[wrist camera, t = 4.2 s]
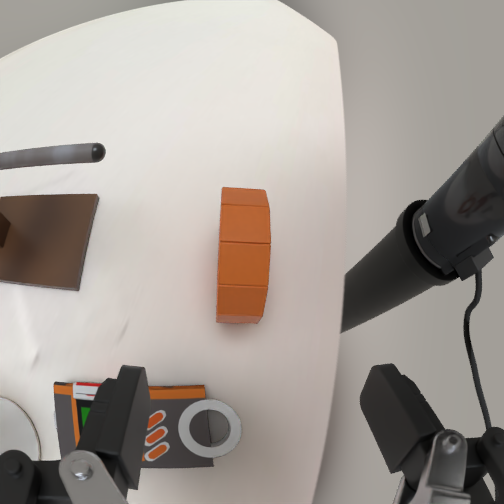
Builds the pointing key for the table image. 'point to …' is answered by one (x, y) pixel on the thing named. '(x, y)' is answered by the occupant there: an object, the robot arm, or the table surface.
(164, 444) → the electronic device
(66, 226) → the hook stand
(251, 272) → the tape roll
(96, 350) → the table surface
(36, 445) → the mug
